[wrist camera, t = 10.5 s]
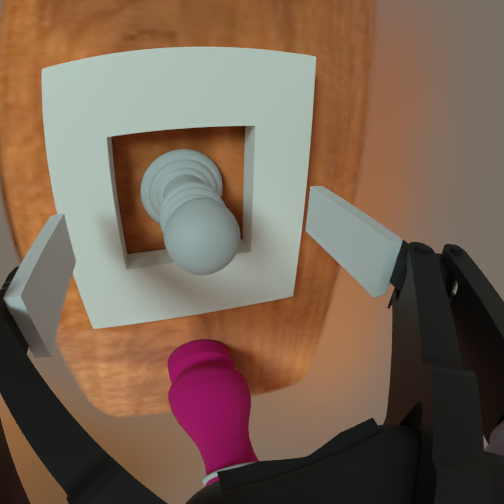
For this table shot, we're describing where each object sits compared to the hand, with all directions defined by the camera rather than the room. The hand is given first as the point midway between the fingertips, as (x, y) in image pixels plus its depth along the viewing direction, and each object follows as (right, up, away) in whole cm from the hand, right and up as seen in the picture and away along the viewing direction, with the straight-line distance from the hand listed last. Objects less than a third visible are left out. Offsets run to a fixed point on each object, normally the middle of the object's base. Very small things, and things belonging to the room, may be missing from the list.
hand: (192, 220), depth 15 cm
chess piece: (-2, +3, +4) cm, 5 cm away
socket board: (-2, +2, +4) cm, 5 cm away
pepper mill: (-2, -12, +13) cm, 18 cm away
